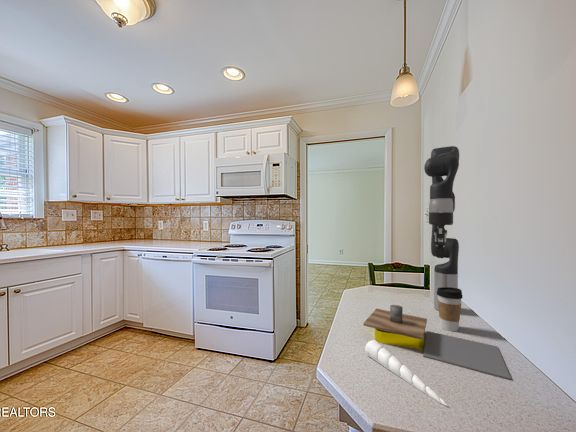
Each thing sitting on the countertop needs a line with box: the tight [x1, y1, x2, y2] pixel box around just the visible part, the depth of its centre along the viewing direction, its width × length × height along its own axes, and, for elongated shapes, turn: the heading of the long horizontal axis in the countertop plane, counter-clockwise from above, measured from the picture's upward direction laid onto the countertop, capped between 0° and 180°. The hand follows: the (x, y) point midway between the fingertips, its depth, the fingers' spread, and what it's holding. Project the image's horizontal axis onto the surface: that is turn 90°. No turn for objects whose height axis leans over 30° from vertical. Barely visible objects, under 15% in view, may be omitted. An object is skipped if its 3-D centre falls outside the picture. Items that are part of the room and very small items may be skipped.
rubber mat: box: [422, 330, 512, 381], centre depth 78 cm, size 20×20×1 cm
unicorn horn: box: [364, 339, 449, 407], centre depth 65 cm, size 5×24×5 cm, turn 21°
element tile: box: [373, 328, 425, 350], centre depth 89 cm, size 15×15×5 cm
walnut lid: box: [363, 304, 428, 340], centre depth 89 cm, size 18×18×6 cm
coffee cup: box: [437, 287, 463, 332], centre depth 96 cm, size 8×8×15 cm
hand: (440, 256), depth 90 cm, fingers open, 8 cm apart
